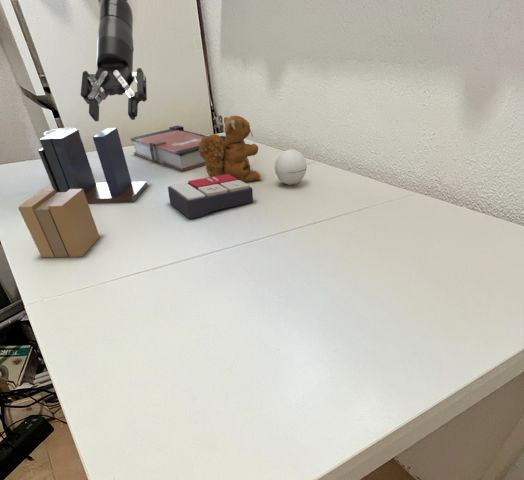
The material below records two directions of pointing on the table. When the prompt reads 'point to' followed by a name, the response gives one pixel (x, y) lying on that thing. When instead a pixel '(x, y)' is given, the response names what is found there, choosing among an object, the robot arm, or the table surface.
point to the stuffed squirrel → (230, 151)
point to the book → (171, 148)
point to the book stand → (78, 169)
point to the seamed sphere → (290, 167)
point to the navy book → (112, 160)
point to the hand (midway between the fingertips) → (113, 118)
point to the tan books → (60, 223)
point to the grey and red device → (209, 195)
